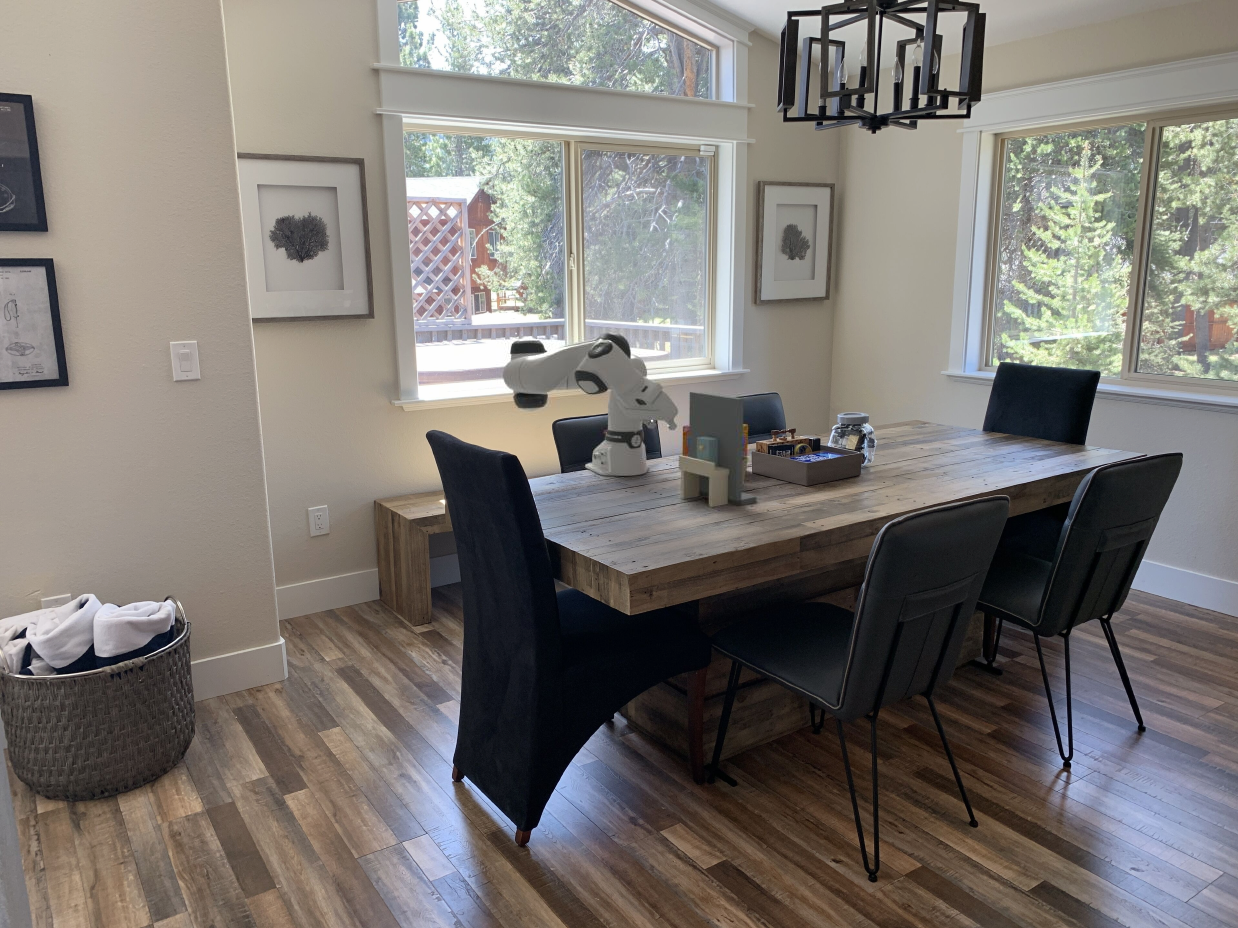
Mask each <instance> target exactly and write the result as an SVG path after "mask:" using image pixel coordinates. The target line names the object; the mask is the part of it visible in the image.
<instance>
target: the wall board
mask: <svg viewBox="0 0 1238 928" xmlns="http://www.w3.org/2000/svg"><path fill="white" fill-rule="evenodd" d="M744 400H745V399H744V398H742V397H737V396H736V397H735V396H729V395H721V394H714V393H709V392H708V393H707V392H700V391H689V420H688V421H689V424H688V425H689V457H687V456H682V454H681V455H680V454H679V455H678V470H679V471H680V499H682V500H685V499H689V498H696V497H702V498H705V499H708V507H709V508H710V507H711V508H713V507H719V506H723V505H730V506H733V507H739V506H742V505H743V504H744V505H749V504H752V503H757V499H758V497H757V496H755V495H751V494H748V493H743V491H742V488H743V486H742V446H743V424H744ZM705 436H707V437H712V438H717V439H718V467H715V463H712V462H708V461H704V460H700V459H697V438H698V437H705ZM748 503H749V504H748Z"/></svg>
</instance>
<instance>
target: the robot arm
mask: <svg viewBox="0 0 1238 928" xmlns="http://www.w3.org/2000/svg"><path fill="white" fill-rule="evenodd" d="M509 351H510V352H509V354H510V361H509V362H507V363H506V365H505V366H504V368H503V371H502V379H503V382H504V384H505V385H506V387H507V388H509V389H510V390H512V391H513V396H512V399H513V401H514V405H515V406H516V408H518V409H522V410H524V411H528V412H530V411H531V412H534V411H536V410H540V409H542V408H543V407H545V406H546V405H547V403H548V397H549V394H548V393H550V392H551V391H554V390H555V391H568V390H569V391H570V390H571V391H572V390H581V391H583V392H584V393H586V394H588V395H592V396H593V395H601V394H605V393H606V392H608V391H609V390H610V393H609V401H608V405H607V408H608V409H607V413H608V414H607V415H608V416H607V420H608V421H607V425H608V426H607V429H605V430H603V435H604V434H605V436H604V440H603V441H602V442H601V443H600V444H599V445H598V446H596V447H595V448H594V449H593V452H592V457H591V458H592V459H591V460H592V462H588V463H586V464H585V468H586V469H587V470H590V471H592V472H594V473H597V474H598V475H601V476H623V477H624V476H625V477H626V476H629V477H630V476H638V475H643V474H646V473H647V472H648V470H649V469H650V465H649V464H647V463H648V462H647V453H646V445H645V443H644V442H643V441H644V435H645V432H644V429H643V424H645V425H646V427H647V428H648V429H654V428H655V427H656V425H657V424H656V421H664V422H665V423H666V424H667V426H666V427H667V428H668V430H669V431H675V430H676V429H677V428H678V424H676V422H675V420H674V419H675V418H676V417H677V415H678V413H679V409H678V407H677V405H676V404H675V403H674V401H673V399H671V397H670V396H669V395H668V394H667V393H666V392H665V391H664V390H663V386H662V384H661V383H660V382H657V381H653V380H651V379H649V378H648V377H647V376H648V370H647V365H646V363H645V362H644V360H643V359H642V358H641V357H639V356H638V355H636V354H633V353H631V351H632V350H631V346H630V344H629V341H628V339H626V338H625V336H623V335H622V334H620V333H618V332H617V333H616V332H604V333H601V334H600V335H599V336H598V337H596V338H591V339H588V340H583V341H577V342H574V343H570V344H566V345H563V346H561V347H558V348H555V349H554V350H550V351H548V350H546V349H545V346H544V343H542V341H541V340H539V339H536V338H533V337H522V338H519V339H518V340H515V341H513V342H512V343H511V346H510V350H509Z"/></svg>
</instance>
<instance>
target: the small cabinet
mask: <svg viewBox="0 0 1238 928" xmlns="http://www.w3.org/2000/svg"><path fill="white" fill-rule="evenodd" d="M697 459H700V460H704V461H708V462H712V463H715V467H718V439H717V438H712V437H707V436H705V437H698V438H697Z"/></svg>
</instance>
